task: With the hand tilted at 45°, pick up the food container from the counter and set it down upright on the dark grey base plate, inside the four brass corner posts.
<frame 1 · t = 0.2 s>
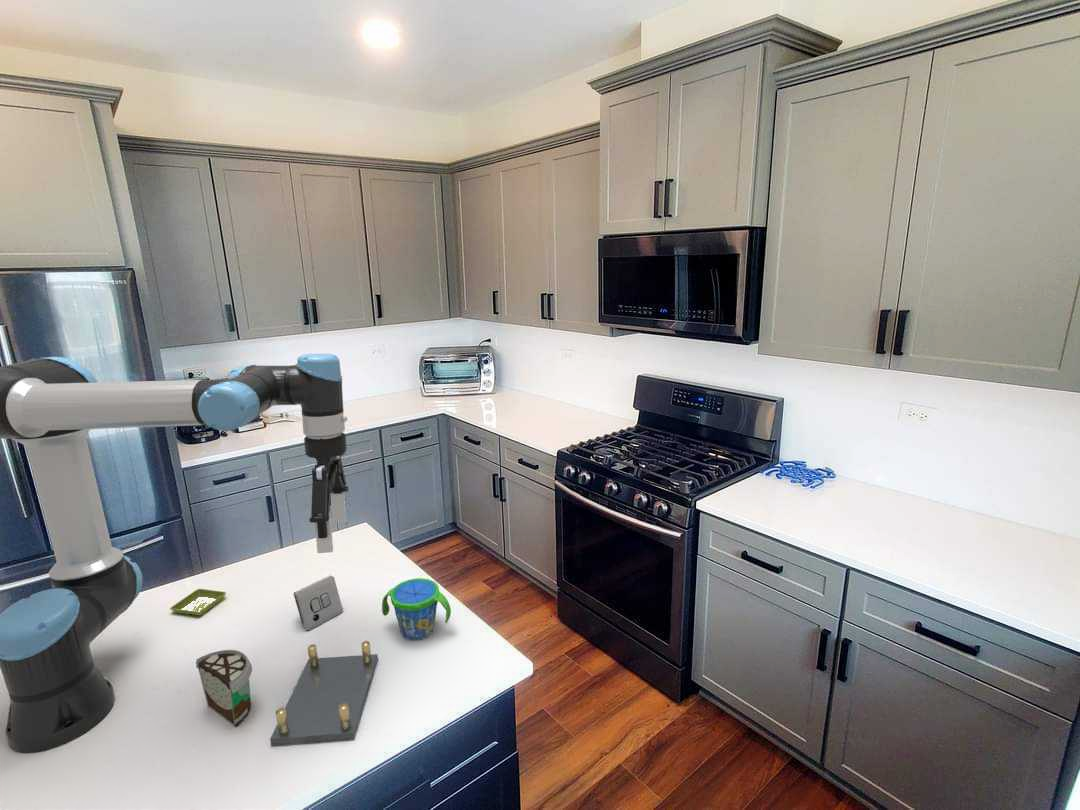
hand: (332, 536, 111), 27 cm above the countertop, tool pointing down, fingers open, 13 cm apart
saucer: (200, 608, 136), on the countertop
food container: (237, 706, 104), on the countertop
snack cup: (418, 631, 125), on the countertop
post plate: (329, 699, 105), on the countertop
electrical switch: (319, 619, 130), on the countertop
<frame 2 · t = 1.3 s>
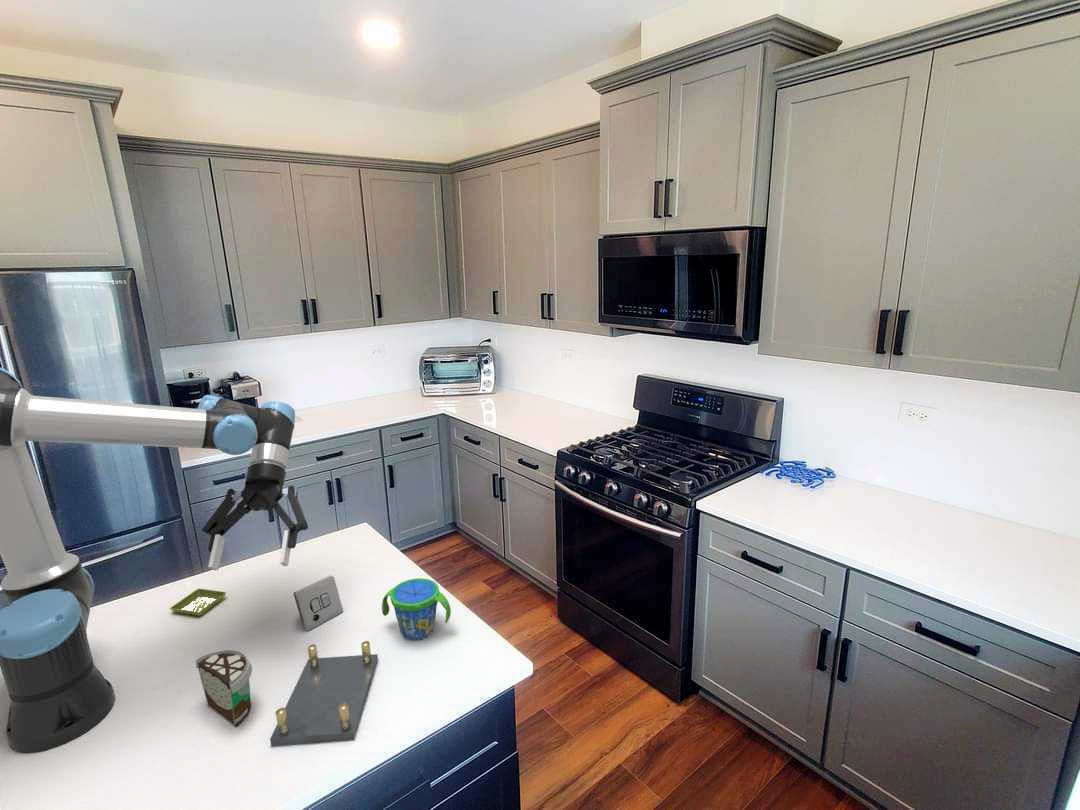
hand: (248, 566, 110), 22 cm above the countertop, tool tilted 45°, fingers open, 13 cm apart
nothing on the countertop moved.
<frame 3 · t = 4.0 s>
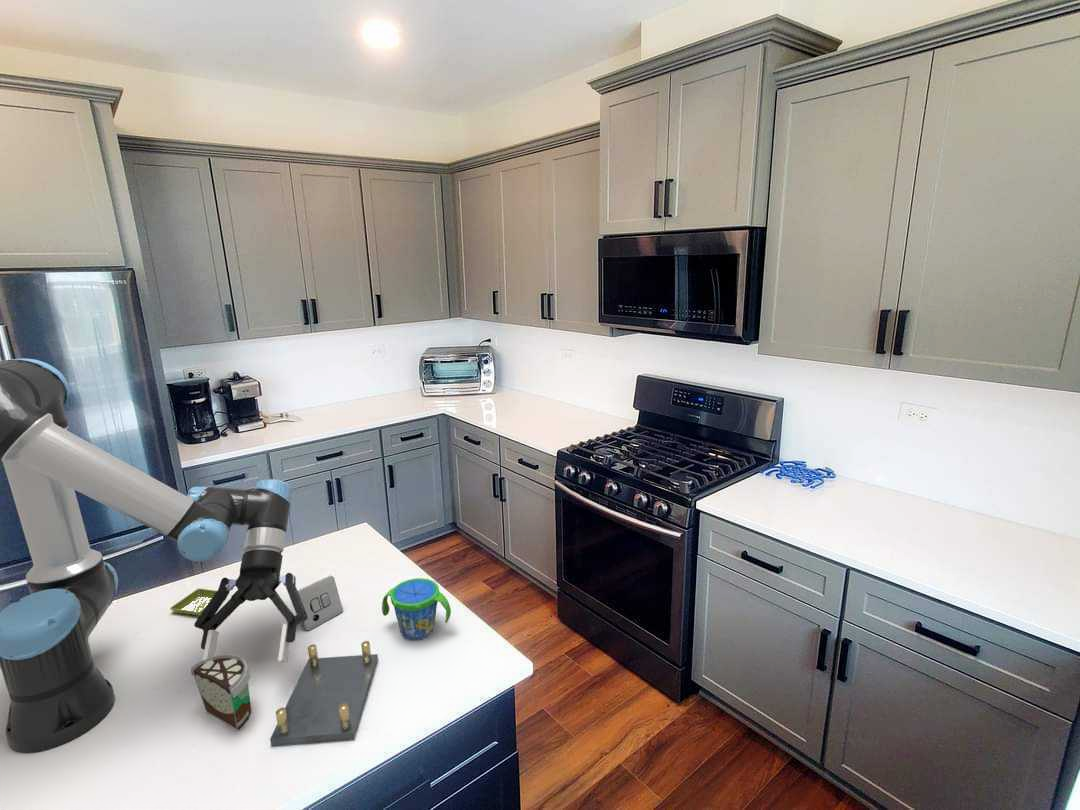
hand: (244, 665, 104), 7 cm above the countertop, tool tilted 45°, fingers open, 13 cm apart
food container: (237, 709, 103), on the countertop, touching gripper
everything else where it was.
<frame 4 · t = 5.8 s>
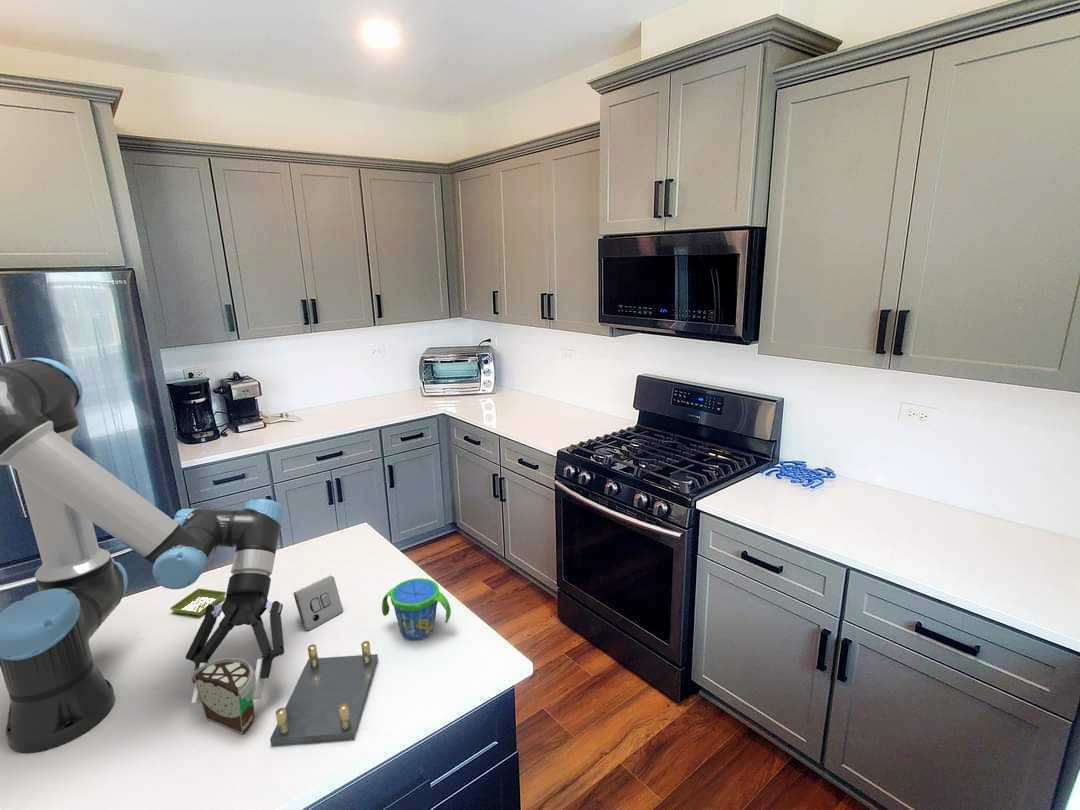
hand: (226, 701, 100), 4 cm above the countertop, tool tilted 45°, fingers closed on food container, 10 cm apart
food container: (239, 715, 102), on the countertop, touching gripper
everything else where it was.
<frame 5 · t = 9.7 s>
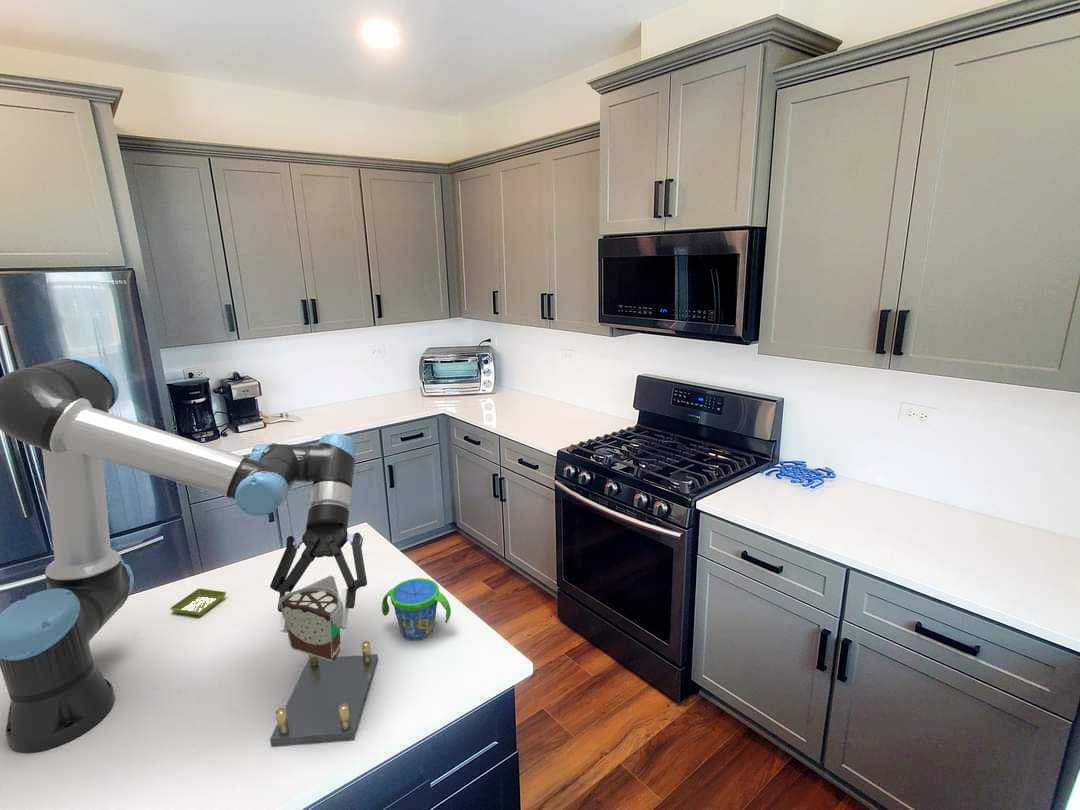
hand: (313, 629, 98), 18 cm above the countertop, tool tilted 45°, fingers closed on food container, 9 cm apart
food container: (324, 645, 100), point 14 cm above the countertop, touching gripper
everything else where it was.
when the fingers open (6 cm above the countertop, at t = 13.1 s): food container moves 1 cm, resting on post plate.
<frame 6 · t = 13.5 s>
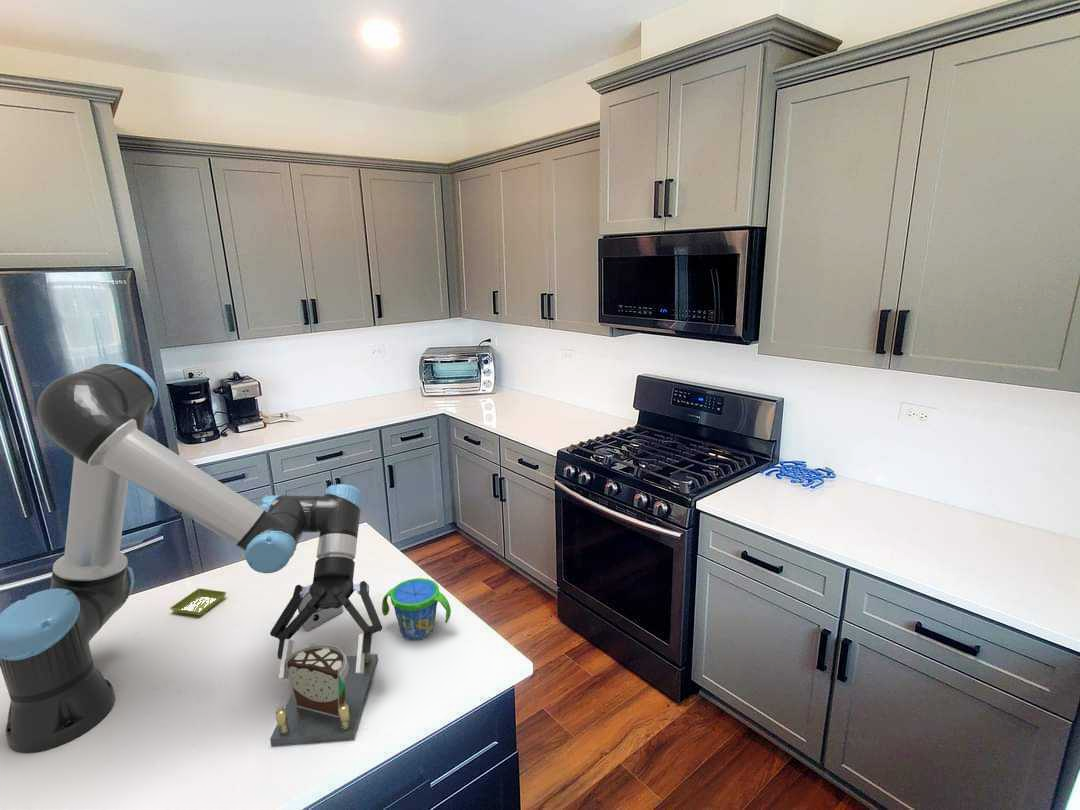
hand: (321, 676, 101), 7 cm above the countertop, tool tilted 45°, fingers open, 13 cm apart
food container: (328, 701, 103), point 1 cm above the countertop, touching post plate
everything else where it was.
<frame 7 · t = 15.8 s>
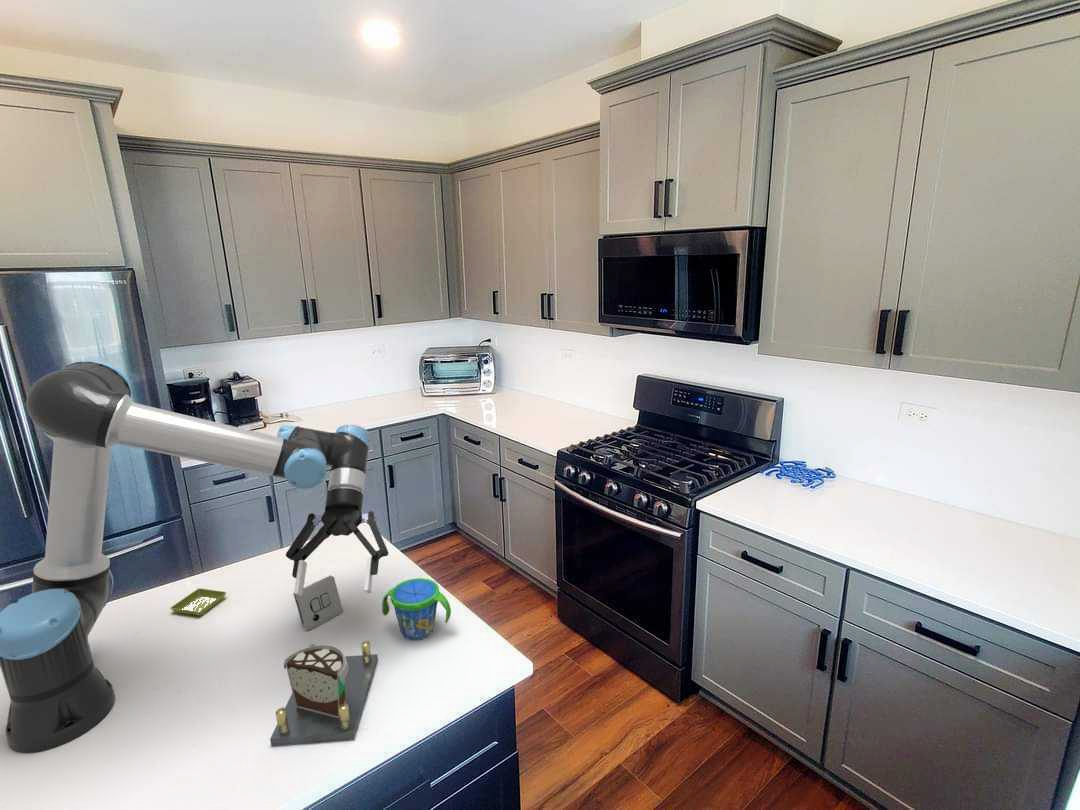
hand: (332, 593, 111), 17 cm above the countertop, tool tilted 45°, fingers open, 13 cm apart
nothing on the countertop moved.
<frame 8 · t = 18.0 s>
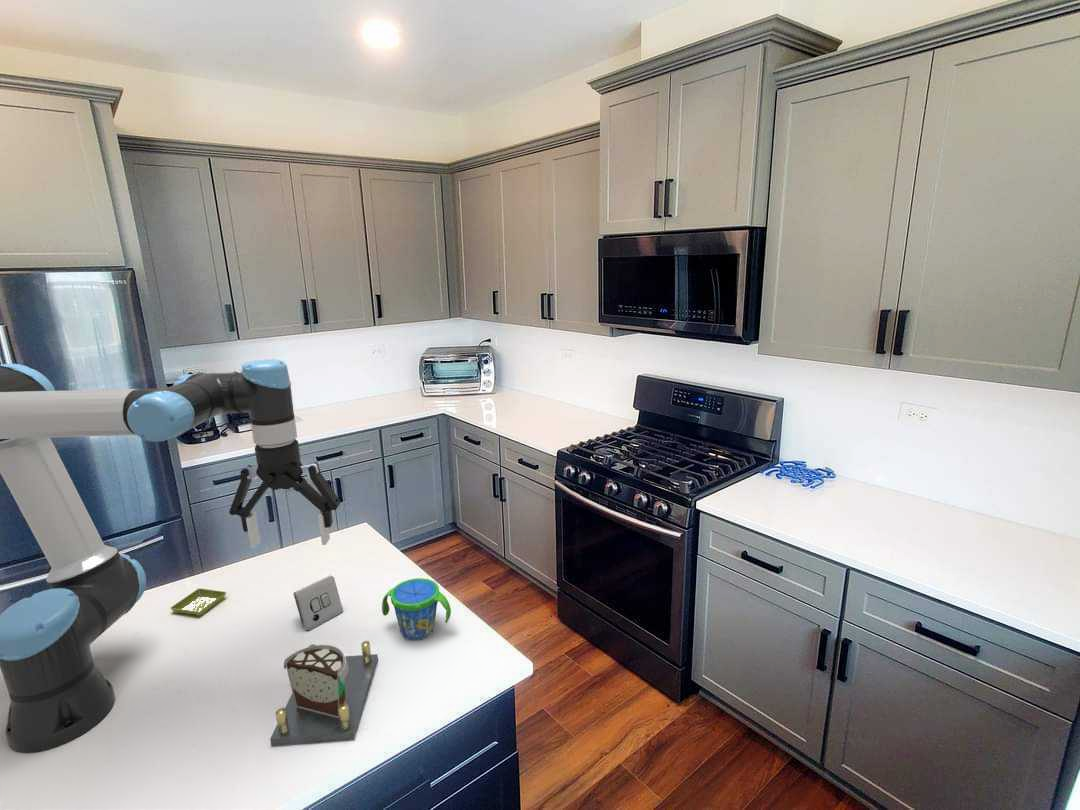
hand: (291, 543, 110), 27 cm above the countertop, tool pointing down, fingers open, 13 cm apart
nothing on the countertop moved.
at the end: food container 2.1 cm off-centre on the post plate, point 1.3 cm above the post plate's base; food container tilted 0°; the gripper is holding nothing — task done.
